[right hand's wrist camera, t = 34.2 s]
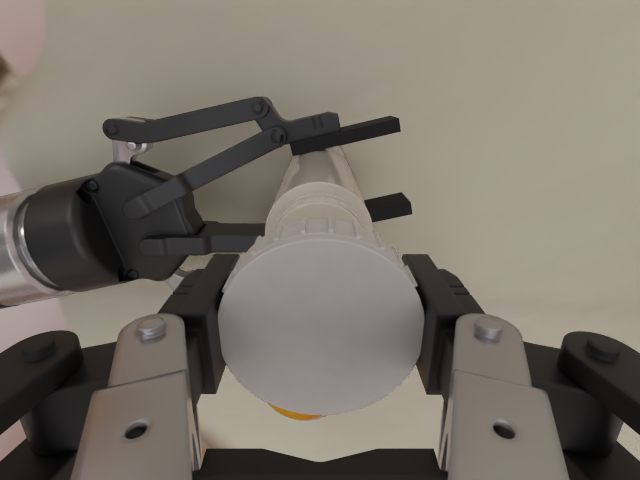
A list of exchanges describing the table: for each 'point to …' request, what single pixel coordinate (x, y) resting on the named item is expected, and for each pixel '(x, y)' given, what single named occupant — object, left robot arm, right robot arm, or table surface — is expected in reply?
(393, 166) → the table surface
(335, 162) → the beige plastic cylinder
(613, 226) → the table surface
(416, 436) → the table surface
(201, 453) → the right robot arm
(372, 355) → the lid
